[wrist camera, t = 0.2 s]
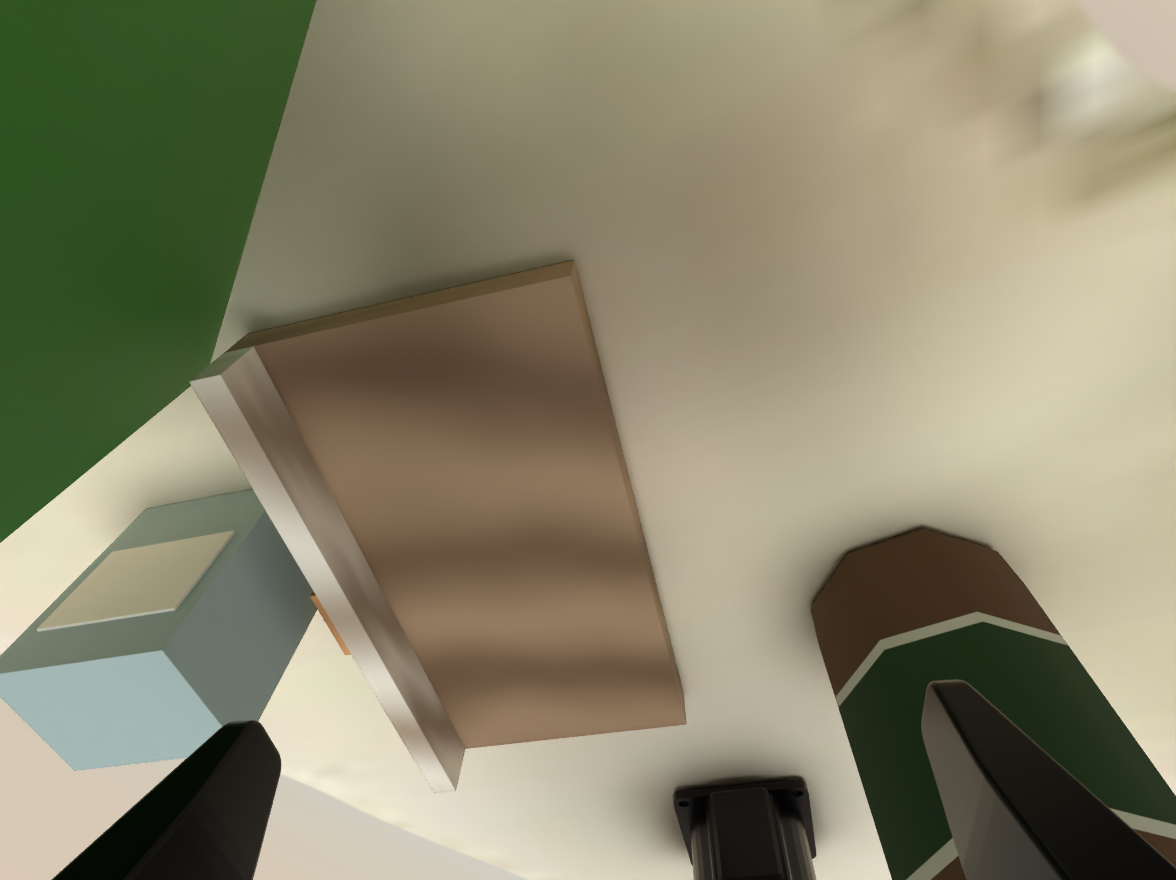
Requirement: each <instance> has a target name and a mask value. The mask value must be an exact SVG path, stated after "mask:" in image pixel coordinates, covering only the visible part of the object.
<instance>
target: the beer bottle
mask: <svg viewBox="0 0 1176 880" xmlns="http://www.w3.org/2000/svg"><path fill="white" fill-rule="evenodd" d="M811 613H812V617H813V621H814V626H815V630H816V634H817V639H818V643H819V647H820V650H821V653H822V656H823V659H824V663H825V666H826V669H827V672H828V675H829V679H830V682H831V685H832V688H833V691H834V695H835V698H836V701H837V704H838V707H839V711H840V714H841V717H842V720H843V723H844V727H845V730H846V733H847V736H848V739H849V743H850V746H851V749H852V752H853V755H854V759H855V762H856V765H857V768H858V772H859V775H860V778H861V781H862V784H863V788H864V791H865V794H866V797H867V800H868V804H869V807H870V810H871V813H872V816H873V820H874V823H875V826H876V829H877V832H878V836H879V839H880V842H881V845H882V848H883V852H884V855H885V858H886V861H887V864H888V868H889V871H890V874H891V877H892V880H967V879H966V876H965V874H964V871H963V868H962V865H961V862H960V859H959V856H958V853H957V850H956V847H955V843H954V840H953V837H952V833H951V830H950V827H949V823H948V820H947V817H946V813H945V810H944V807H943V803H942V800H941V797H940V793H939V790H938V787H937V783H936V780H935V777H934V773H933V770H932V767H931V763H930V760H929V757H928V754H927V750H926V747H925V743H924V740H923V735H922V725H921V723H922V715H923V709H924V702H925V696H926V689H927V686H928V684H929V683H930V682H932V681H939V680H956V679H957V680H963V681H965V682H967V683H968V684H970V685H971V686H972V687H973V688H974V689H976V690H977V691H978V692H979V693H980V694H981V695H982V696H983V697H985V698H986V699H987V700H988V701H989V702H990V703H991V704H992V705H994V706H995V707H996V708H997V709H998V710H999V711H1000V712H1001V713H1003V714H1004V715H1005V716H1006V717H1007V718H1008V719H1009V720H1010V721H1012V722H1013V723H1014V724H1015V725H1016V726H1017V727H1018V728H1020V729H1021V730H1022V731H1023V732H1024V733H1025V734H1026V735H1027V736H1029V737H1030V738H1031V739H1032V740H1033V741H1034V742H1035V743H1036V744H1038V745H1039V746H1040V747H1041V748H1042V749H1043V750H1044V751H1045V752H1047V753H1048V754H1049V755H1050V756H1051V757H1052V758H1053V759H1054V760H1056V761H1057V762H1058V763H1059V764H1060V765H1061V766H1062V767H1064V768H1065V769H1066V770H1067V771H1068V772H1069V773H1070V774H1071V775H1073V776H1074V777H1075V778H1076V779H1077V780H1078V781H1079V782H1080V783H1082V784H1083V785H1084V786H1085V787H1086V788H1087V789H1088V790H1089V791H1091V792H1092V793H1093V794H1094V795H1095V796H1096V797H1097V798H1098V799H1100V800H1101V801H1102V802H1103V803H1104V804H1105V805H1106V806H1107V807H1109V808H1110V809H1111V810H1112V811H1113V812H1114V813H1115V814H1117V815H1118V816H1119V817H1120V818H1121V819H1122V820H1123V821H1124V822H1126V823H1127V824H1128V825H1129V826H1130V827H1131V828H1132V829H1133V830H1135V831H1136V832H1137V833H1138V834H1139V835H1140V836H1141V837H1142V838H1144V839H1145V840H1146V841H1147V842H1148V843H1149V844H1150V845H1151V846H1153V847H1154V848H1155V849H1156V850H1157V851H1158V852H1159V853H1160V854H1162V855H1163V856H1164V857H1165V858H1166V859H1167V860H1168V861H1170V862H1171V863H1172V864H1173V865H1174V866H1175V867H1176V796H1175V794H1174V793H1173V792H1172V790H1171V789H1170V787H1169V786H1168V785H1167V783H1166V782H1165V780H1164V779H1163V778H1162V776H1161V775H1160V773H1159V772H1158V771H1157V769H1156V768H1155V766H1154V765H1153V764H1152V762H1151V761H1150V759H1149V758H1148V757H1147V755H1146V754H1145V752H1144V751H1143V750H1142V748H1141V747H1140V745H1139V744H1138V743H1137V741H1136V740H1135V738H1134V737H1133V736H1132V734H1131V733H1130V731H1129V730H1128V729H1127V727H1126V726H1125V724H1124V723H1123V722H1122V720H1121V719H1120V717H1119V716H1118V715H1117V713H1116V712H1115V710H1114V709H1113V707H1112V706H1111V705H1110V703H1109V702H1108V700H1107V699H1106V698H1105V696H1104V695H1103V693H1102V692H1101V691H1100V689H1099V688H1098V686H1097V685H1096V684H1095V682H1094V681H1093V679H1092V678H1091V677H1090V675H1089V674H1088V672H1087V671H1086V670H1085V668H1084V667H1083V665H1082V664H1081V663H1080V661H1079V660H1078V658H1077V657H1076V656H1075V654H1074V653H1073V651H1072V650H1071V649H1070V647H1069V646H1068V644H1067V643H1066V642H1065V640H1064V639H1063V637H1062V636H1061V635H1060V633H1059V632H1058V630H1057V629H1056V628H1055V626H1054V625H1053V623H1052V622H1051V621H1050V619H1049V618H1048V616H1047V615H1046V614H1045V612H1044V611H1043V609H1042V608H1041V607H1040V605H1039V604H1038V602H1037V601H1036V600H1035V598H1034V597H1033V595H1032V594H1031V593H1030V591H1029V590H1028V588H1027V587H1026V586H1025V584H1024V583H1023V582H1022V581H1021V579H1020V578H1019V577H1018V576H1017V575H1016V573H1015V572H1014V571H1013V570H1012V568H1011V567H1010V566H1009V565H1008V564H1007V562H1006V561H1005V560H1004V559H1003V558H1002V556H1001V555H1000V554H999V553H998V552H997V551H995V550H992V549H990V548H987V547H984V546H980V545H977V544H974V543H970V542H967V541H964V540H960V539H957V538H954V537H950V536H947V535H943V534H940V533H937V532H933V531H930V530H927V529H923V528H921V529H918V530H915V531H912V532H908V533H905V534H902V535H899V536H896V537H893V538H890V539H887V540H884V541H881V542H878V543H875V544H872V545H869V546H866V547H863V548H860V549H857V550H854V551H851V552H848V553H847V554H846V556H845V557H844V559H843V560H842V562H841V563H840V565H839V566H838V567H837V569H836V570H835V572H834V573H833V575H832V576H831V578H830V579H829V581H828V582H827V584H826V585H825V587H824V588H823V589H822V591H821V592H820V594H819V595H818V597H817V598H816V600H815V601H814V603H813V606H812V608H811Z"/></svg>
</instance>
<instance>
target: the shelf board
mask: <svg viewBox="0 0 1176 880" xmlns="http://www.w3.org/2000/svg"><path fill="white" fill-rule="evenodd" d="M189 382H190V384H191V386H192V387H193V389H194V391H195V392H196V394H197V396H198V398H199V399H200V401H201V403H202V404H203V406H204V408H205V409H206V411H207V413H208V414H209V416H210V418H211V419H212V421H213V423H214V424H215V426H216V428H217V430H218V431H219V433H220V435H221V436H222V438H223V440H224V441H225V443H226V445H227V446H228V448H229V450H230V451H231V453H232V455H233V456H234V458H235V460H236V461H237V463H238V465H239V467H240V468H241V470H242V472H243V473H244V475H245V477H246V478H247V480H248V482H249V483H250V485H251V487H252V488H253V490H254V492H255V493H256V495H257V497H258V498H259V500H260V502H261V504H262V505H263V507H264V509H265V510H266V512H267V514H268V515H269V517H270V519H271V520H272V522H273V524H274V525H275V527H276V529H277V530H278V532H279V534H280V535H281V537H282V539H283V541H284V542H285V544H286V546H287V547H288V549H289V551H290V552H291V554H292V556H293V557H294V559H295V561H296V562H297V564H298V566H299V567H300V569H301V571H302V573H303V574H304V576H305V578H306V579H307V581H308V583H309V584H310V586H311V588H312V589H313V592H312V594H311V595H310V597H311V599H312V601H313V602H314V604H315V606H316V607H317V609H318V611H319V612H320V614H321V616H322V617H323V619H324V621H325V622H326V624H327V626H328V627H329V629H330V631H331V632H332V634H333V636H334V637H335V639H336V641H337V642H338V644H339V646H340V647H341V649H342V651H343V652H344V654H345V655H352V657H353V658H354V660H355V662H356V663H357V665H358V667H359V668H360V670H361V672H362V673H363V675H364V677H365V679H366V680H367V682H368V684H369V685H370V687H371V689H372V690H373V692H374V694H375V695H376V697H377V699H378V700H379V702H380V704H381V705H382V707H383V709H384V710H385V712H386V714H387V716H388V717H389V719H390V721H391V722H392V724H393V726H394V727H395V729H396V731H397V732H398V734H399V736H400V737H401V739H402V741H403V742H404V744H405V746H406V747H407V749H408V751H409V753H410V754H411V756H412V758H413V759H414V761H415V763H416V764H417V766H418V768H419V769H420V771H421V773H422V774H423V776H424V778H425V779H426V781H427V783H428V784H429V786H430V788H431V790H432V791H433V793H443V792H453V791H456V788H457V784H458V779H459V775H460V770H461V766H462V761H463V757H464V752H465V749H467V748H476V747H485V746H494V745H503V744H512V743H521V742H530V741H539V740H548V739H557V738H566V737H575V736H585V735H594V734H603V733H612V732H621V731H630V730H639V729H648V728H657V727H666V726H675V725H684V724H686V714H685V702H684V693H683V689H682V685H681V681H680V677H679V673H678V670H677V666H676V662H675V658H674V654H673V650H672V646H671V642H670V638H669V634H668V630H667V626H666V622H665V618H664V614H663V610H662V606H661V602H660V598H659V594H658V590H657V586H656V582H655V578H654V574H653V571H652V567H651V563H650V559H649V555H648V551H647V547H646V543H645V539H644V535H643V531H642V527H641V523H640V519H639V515H638V511H637V507H636V503H635V499H634V495H633V491H632V487H631V483H630V479H629V476H628V472H627V468H626V464H625V460H624V456H623V452H622V448H621V444H620V440H619V436H618V432H617V428H616V424H615V420H614V416H613V412H612V408H611V404H610V400H609V396H608V392H607V388H606V384H605V380H604V377H603V373H602V369H601V365H600V361H599V357H598V353H597V349H596V345H595V341H594V337H593V333H592V329H591V325H590V321H589V317H588V313H587V309H586V305H585V301H584V297H583V293H582V289H581V285H580V281H579V278H578V274H577V270H576V266H575V262H574V260H572V261H568V262H563V263H559V264H554V265H550V266H545V267H541V268H537V269H532V270H528V271H523V272H519V273H514V274H510V275H506V276H501V277H497V278H492V279H488V280H483V281H479V282H475V283H470V284H466V285H461V286H457V287H452V288H448V289H444V290H439V291H435V292H430V293H426V294H421V295H417V296H413V297H408V298H404V299H399V300H395V301H391V302H386V303H382V304H377V305H373V306H368V307H364V308H360V309H355V310H351V311H346V312H342V313H337V314H333V315H329V316H324V317H320V318H315V319H311V320H306V321H302V322H298V323H293V324H289V325H284V326H280V327H275V328H271V329H267V330H262V331H258V332H253V333H249V334H247V335H245V336H244V337H243V338H242V339H241V340H239V341H238V342H237V343H236V344H234V345H233V346H232V347H231V348H230V349H228V350H227V351H226V352H225V353H223V354H222V355H221V356H220V357H219V358H217V359H216V360H215V361H214V362H212V363H211V364H210V365H209V366H208V367H206V368H205V369H204V370H203V371H201V372H200V373H199V374H198V375H197V376H195V377H194V378H193V379H192V380H190V381H189Z"/></svg>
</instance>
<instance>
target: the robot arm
mask: <svg viewBox="0 0 1176 880" xmlns="http://www.w3.org/2000/svg"><path fill="white" fill-rule="evenodd" d="M921 725H922V735H923V740H924V743H925V747H926V750H927V754H928V757H929V760H930V763H931V767H932V770H933V773H934V777H935V780H936V783H937V787H938V790H939V793H940V797H941V800H942V803H943V807H944V810H945V813H946V817H947V820H948V823H949V827H950V830H951V833H952V837H953V840H954V843H955V847H956V850H957V853H958V856H959V859H960V862H961V865H962V868H963V871H964V874H965V876H966V879H967V880H1176V867H1175V866H1174V865H1173V864H1172V863H1171V862H1170V861H1168V860H1167V859H1166V858H1165V857H1164V856H1163V855H1162V854H1160V853H1159V852H1158V851H1157V850H1156V849H1155V848H1154V847H1153V846H1151V845H1150V844H1149V843H1148V842H1147V841H1146V840H1145V839H1144V838H1142V837H1141V836H1140V835H1139V834H1138V833H1137V832H1136V831H1135V830H1133V829H1132V828H1131V827H1130V826H1129V825H1128V824H1127V823H1126V822H1124V821H1123V820H1122V819H1121V818H1120V817H1119V816H1118V815H1117V814H1115V813H1114V812H1113V811H1112V810H1111V809H1110V808H1109V807H1107V806H1106V805H1105V804H1104V803H1103V802H1102V801H1101V800H1100V799H1098V798H1097V797H1096V796H1095V795H1094V794H1093V793H1092V792H1091V791H1089V790H1088V789H1087V788H1086V787H1085V786H1084V785H1083V784H1082V783H1080V782H1079V781H1078V780H1077V779H1076V778H1075V777H1074V776H1073V775H1071V774H1070V773H1069V772H1068V771H1067V770H1066V769H1065V768H1064V767H1062V766H1061V765H1060V764H1059V763H1058V762H1057V761H1056V760H1054V759H1053V758H1052V757H1051V756H1050V755H1049V754H1048V753H1047V752H1045V751H1044V750H1043V749H1042V748H1041V747H1040V746H1039V745H1038V744H1036V743H1035V742H1034V741H1033V740H1032V739H1031V738H1030V737H1029V736H1027V735H1026V734H1025V733H1024V732H1023V731H1022V730H1021V729H1020V728H1018V727H1017V726H1016V725H1015V724H1014V723H1013V722H1012V721H1010V720H1009V719H1008V718H1007V717H1006V716H1005V715H1004V714H1003V713H1001V712H1000V711H999V710H998V709H997V708H996V707H995V706H994V705H992V704H991V703H990V702H989V701H988V700H987V699H986V698H985V697H983V696H982V695H981V694H980V693H979V692H978V691H977V690H976V689H974V688H973V687H972V686H971V685H970V684H968V683H967V682H965V681H963V680H957V679H956V680H939V681H932V682H930V683H929V684H928V686H927V689H926V696H925V702H924V709H923V715H922V723H921ZM280 772H281V758H280V754H279V752H278V751H277V749H276V747H275V746H274V744H273V742H272V741H271V739H270V737H269V736H268V734H267V732H266V731H265V729H264V727H263V726H262V725H261V723H259V722H258V721H256V720H247V721H233V722H229V723H227V724H225V725H224V726H222V727H221V728H220V729H219V730H218V731H217V732H215V733H214V734H213V735H212V736H211V737H210V738H209V739H208V740H206V741H205V742H204V743H203V744H202V745H201V746H200V747H199V748H198V749H196V750H195V751H194V752H193V753H192V754H191V755H190V756H189V757H188V758H186V759H185V760H184V761H183V762H182V763H181V764H180V765H179V766H178V767H176V768H175V769H174V770H173V771H172V772H171V773H170V774H169V775H168V776H166V777H165V778H164V779H163V780H162V781H161V782H160V783H159V784H158V785H156V786H155V787H154V788H153V789H152V790H151V791H150V792H149V793H148V794H146V795H145V796H144V797H143V798H142V799H141V800H140V801H139V802H137V803H136V804H135V805H134V806H133V807H132V808H131V809H130V810H129V811H127V812H126V813H125V814H124V815H123V816H122V817H121V818H120V819H119V820H117V821H116V822H115V823H114V824H113V825H112V826H111V827H110V828H109V829H107V830H106V831H105V832H104V833H103V834H102V835H101V836H100V837H99V838H98V839H96V840H95V841H94V842H93V843H92V844H91V845H90V846H89V847H87V848H86V849H85V850H84V851H83V852H82V853H81V854H80V855H78V856H77V858H75V859H74V860H73V861H72V862H71V863H70V864H69V865H67V866H66V867H65V868H64V869H63V870H62V871H61V872H60V873H59V874H58V875H56V876H55V877H54V878H53V879H52V880H253V876H254V873H255V869H256V866H257V862H258V858H259V854H260V850H261V847H262V843H263V839H264V835H265V831H266V827H267V823H268V819H269V815H270V811H271V808H272V804H273V800H274V796H275V792H276V788H277V785H278V781H279V777H280ZM673 801H674V807H675V811H676V814H677V817H678V821H679V824H680V827H681V831H682V834H683V837H684V841H685V844H686V847H687V851H688V854H689V857H690V861H691V864H692V865H693V873H694V880H816V876H815V871H814V867H813V862H812V859H813V858H815V857H816V848H815V840H814V832H813V824H812V817H811V809H810V801H809V793H808V789H807V785H806V783H805V782H804V781H802V780H785V781H775V782H764V783H754V784H743V785H733V786H722V787H712V788H701V789H690V790H681V791H677V792H675V793H674V795H673Z"/></svg>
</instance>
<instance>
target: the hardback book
mask: <svg viewBox="0 0 1176 880" xmlns="http://www.w3.org/2000/svg"><path fill="white" fill-rule="evenodd" d="M315 2H316V0H0V543H1V542H2V541H3V540H4V539H5V538H7V537H8V536H9V535H10V534H11V533H13V532H14V531H15V530H16V529H18V528H19V527H20V526H21V525H22V524H24V523H25V522H26V521H27V520H28V519H30V518H31V517H32V516H33V515H35V514H36V513H37V512H38V511H39V510H41V509H42V508H43V507H44V506H45V505H47V504H48V503H49V502H50V501H52V500H53V499H54V498H55V497H56V496H58V495H59V494H60V493H61V492H62V491H64V490H65V489H66V488H67V487H69V486H70V485H71V484H72V483H73V482H75V481H76V480H77V479H78V478H79V477H81V476H82V475H83V474H84V473H86V472H87V471H88V470H89V469H90V468H92V467H93V466H94V465H95V464H96V463H98V462H99V461H100V460H101V459H103V458H104V457H105V456H106V455H107V454H109V453H110V452H111V451H112V450H113V449H115V448H116V447H117V446H118V445H120V444H121V443H122V442H123V441H124V440H126V439H127V438H128V437H129V436H130V435H132V434H133V433H134V432H135V431H137V430H138V429H139V428H140V427H141V426H143V425H144V424H145V423H146V422H147V421H149V420H150V419H151V418H152V417H154V416H155V415H156V414H157V413H158V412H160V411H161V410H162V409H163V408H164V407H166V406H167V405H168V404H169V403H170V402H172V401H173V400H174V399H175V398H177V397H178V396H179V395H180V394H181V393H183V392H184V391H185V390H186V389H187V388H189V387H190V386H191V384H190V382H189V381H190V380H192V379H193V378H194V377H195V376H197V375H198V374H199V373H200V372H201V371H203V370H204V369H205V368H206V367H208V366H209V365H210V362H211V358H212V355H213V351H214V348H215V344H216V341H217V338H218V334H219V331H220V327H221V324H222V320H223V317H224V314H225V310H226V307H227V303H228V300H229V296H230V293H231V290H232V286H233V283H234V279H235V276H236V272H237V269H238V266H239V262H240V259H241V255H242V252H243V249H244V245H245V242H246V238H247V235H248V231H249V228H250V225H251V221H252V218H253V214H254V211H255V207H256V204H257V201H258V197H259V194H260V190H261V187H262V183H263V180H264V177H265V173H266V170H267V166H268V163H269V159H270V156H271V153H272V149H273V146H274V142H275V139H276V135H277V132H278V129H279V125H280V122H281V118H282V115H283V112H284V108H285V105H286V101H287V98H288V94H289V91H290V88H291V84H292V81H293V77H294V74H295V70H296V67H297V64H298V60H299V57H300V53H301V50H302V46H303V43H304V40H305V36H306V33H307V29H308V26H309V22H310V19H311V16H312V12H313V9H314V5H315Z"/></svg>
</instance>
